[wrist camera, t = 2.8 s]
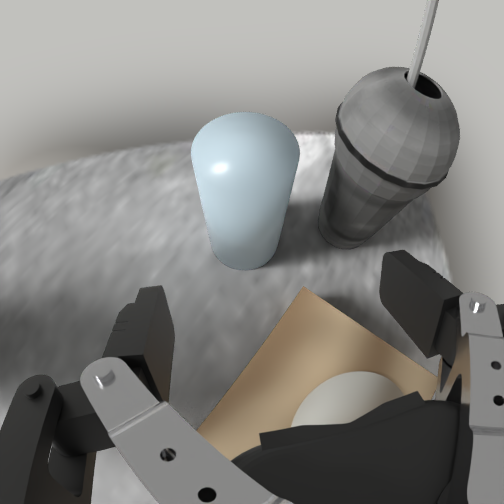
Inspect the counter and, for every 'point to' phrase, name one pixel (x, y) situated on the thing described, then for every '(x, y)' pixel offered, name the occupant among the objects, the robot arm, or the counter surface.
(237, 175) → the pale blue domed cylinder
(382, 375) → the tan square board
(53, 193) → the counter surface
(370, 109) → the beverage cup
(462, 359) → the robot arm
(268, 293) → the counter surface
